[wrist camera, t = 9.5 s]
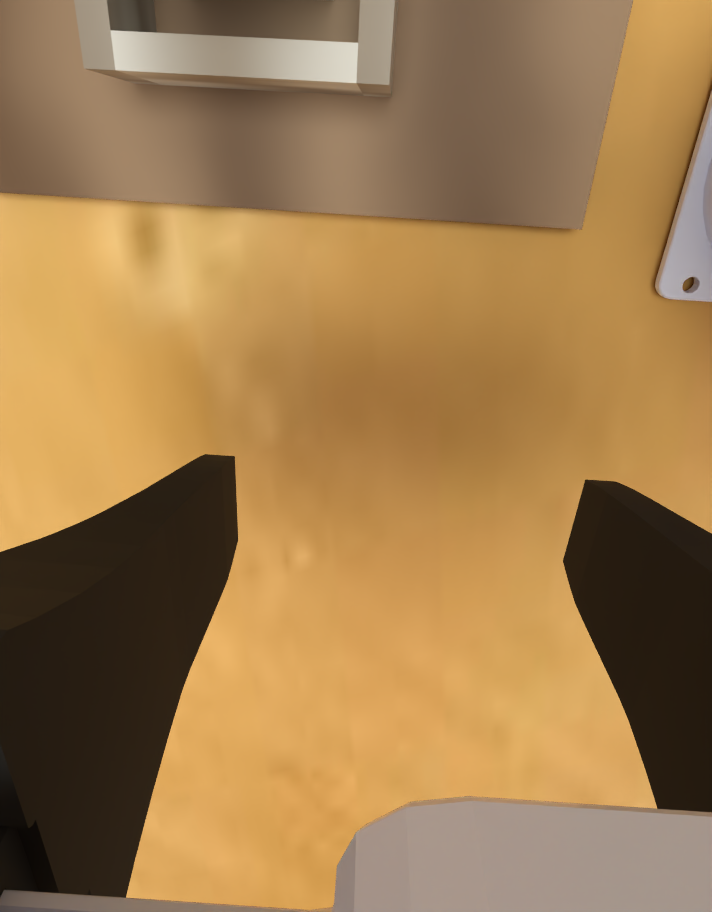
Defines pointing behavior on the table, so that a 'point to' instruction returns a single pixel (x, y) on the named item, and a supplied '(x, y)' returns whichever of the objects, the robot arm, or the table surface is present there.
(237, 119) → the brown socket board
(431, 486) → the table surface
